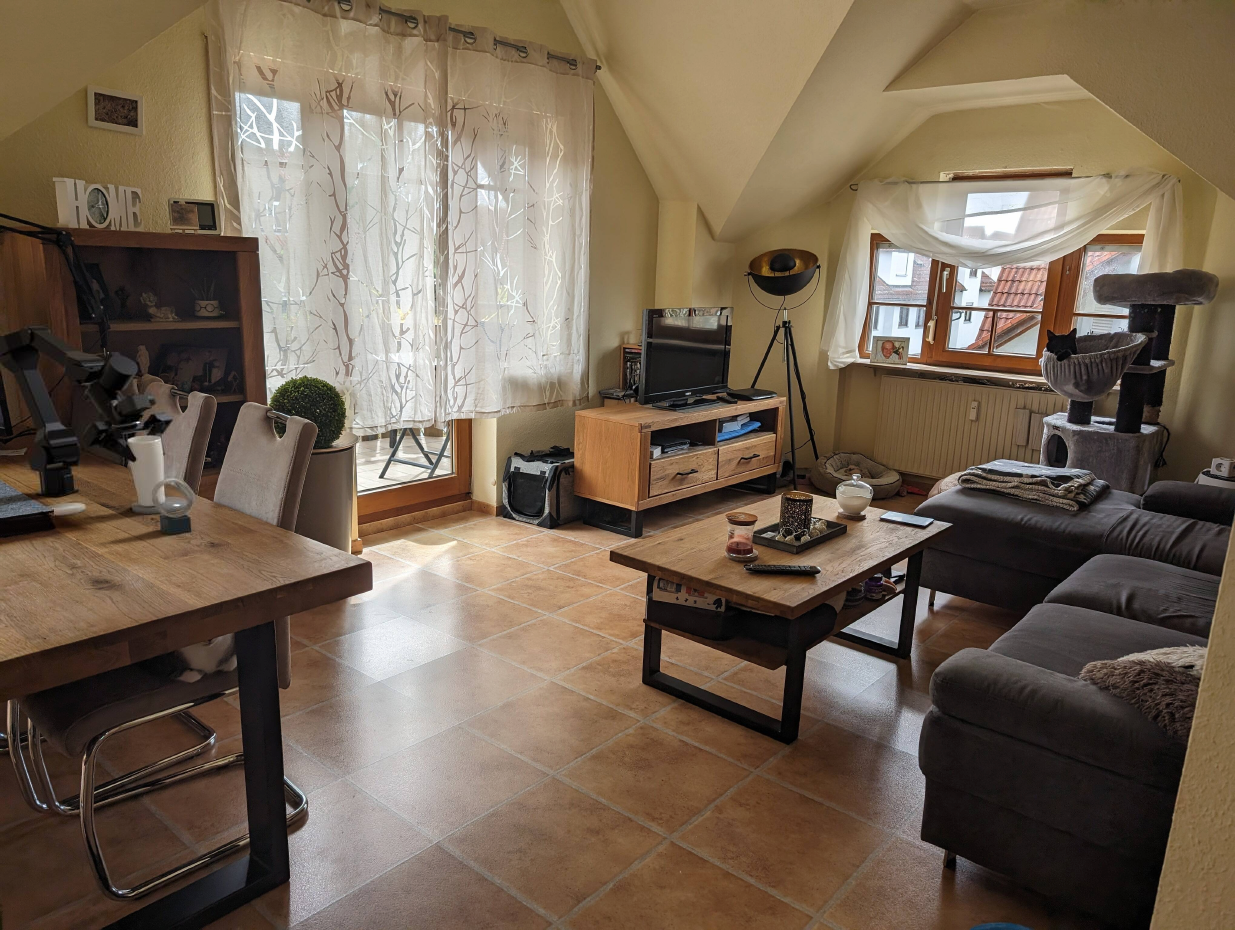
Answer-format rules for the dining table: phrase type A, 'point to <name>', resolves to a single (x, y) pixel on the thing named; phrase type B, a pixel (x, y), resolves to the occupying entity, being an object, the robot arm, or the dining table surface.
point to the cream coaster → (67, 508)
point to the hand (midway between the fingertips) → (149, 458)
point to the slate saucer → (169, 505)
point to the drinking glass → (147, 467)
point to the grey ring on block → (179, 520)
